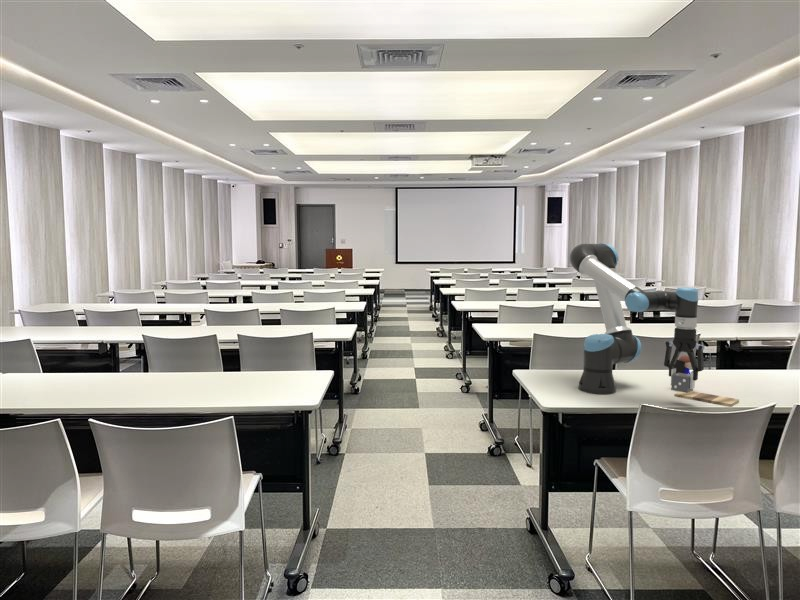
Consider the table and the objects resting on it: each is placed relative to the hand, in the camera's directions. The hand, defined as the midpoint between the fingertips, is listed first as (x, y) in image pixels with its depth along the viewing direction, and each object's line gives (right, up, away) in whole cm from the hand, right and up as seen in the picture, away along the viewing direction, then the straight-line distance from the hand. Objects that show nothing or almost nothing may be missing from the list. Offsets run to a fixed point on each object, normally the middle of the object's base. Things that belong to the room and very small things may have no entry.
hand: (682, 386), depth 226 cm
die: (0, -1, 0) cm, 1 cm away
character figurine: (+10, -5, +22) cm, 25 cm away
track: (+14, -6, +8) cm, 17 cm away
